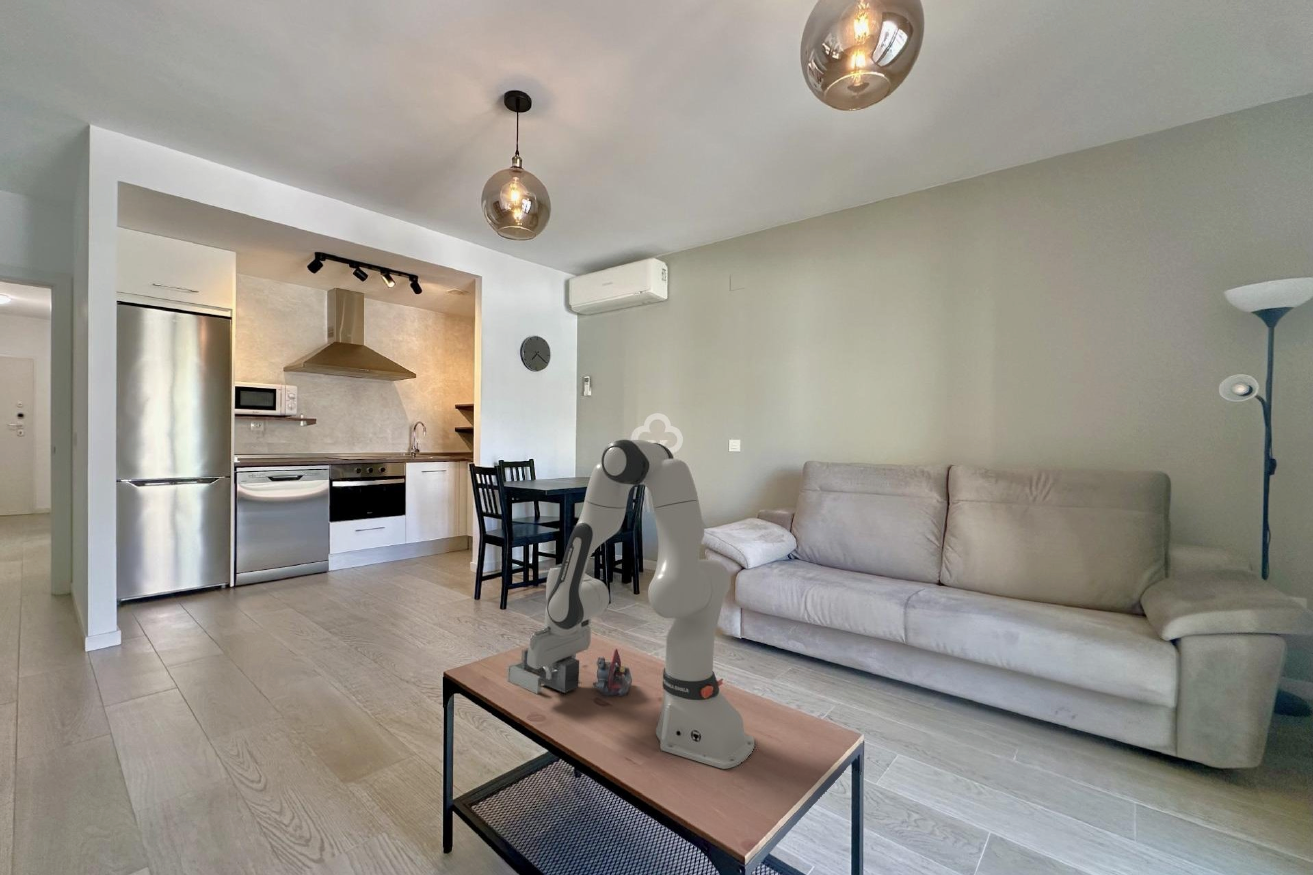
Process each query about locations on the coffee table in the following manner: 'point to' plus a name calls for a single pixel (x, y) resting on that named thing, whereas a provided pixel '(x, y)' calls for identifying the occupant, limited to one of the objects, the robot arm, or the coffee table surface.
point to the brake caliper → (612, 677)
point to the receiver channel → (524, 674)
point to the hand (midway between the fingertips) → (559, 674)
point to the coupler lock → (562, 675)
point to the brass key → (622, 669)
